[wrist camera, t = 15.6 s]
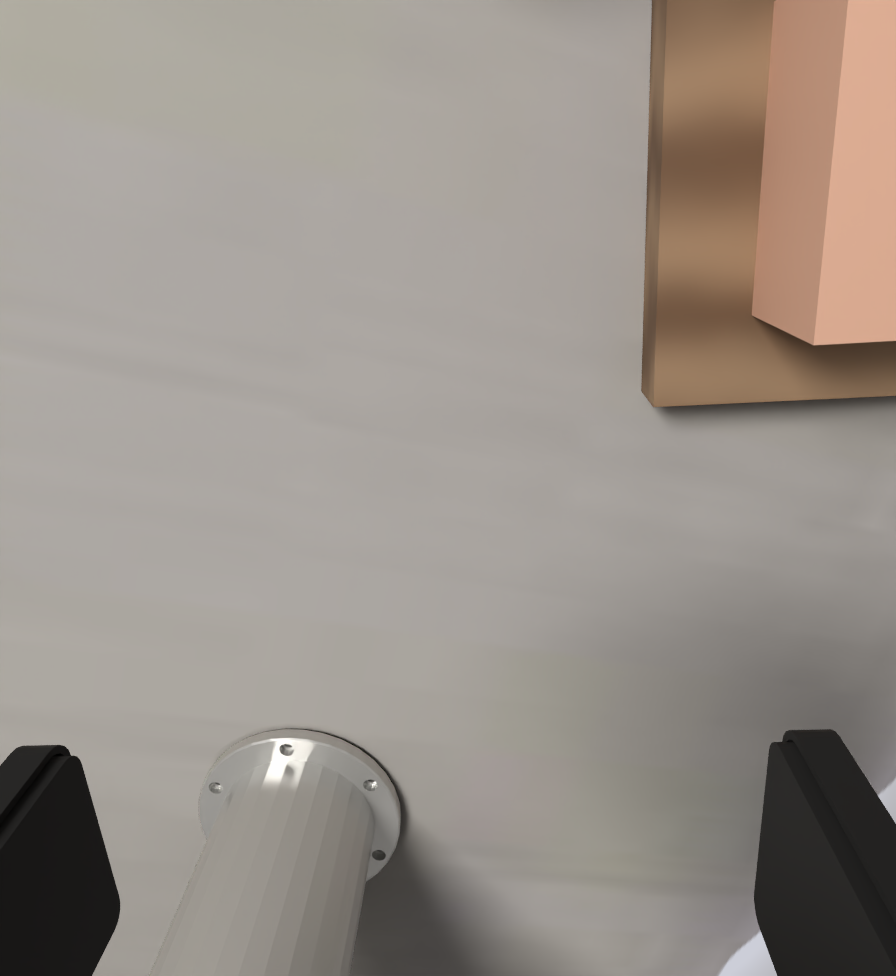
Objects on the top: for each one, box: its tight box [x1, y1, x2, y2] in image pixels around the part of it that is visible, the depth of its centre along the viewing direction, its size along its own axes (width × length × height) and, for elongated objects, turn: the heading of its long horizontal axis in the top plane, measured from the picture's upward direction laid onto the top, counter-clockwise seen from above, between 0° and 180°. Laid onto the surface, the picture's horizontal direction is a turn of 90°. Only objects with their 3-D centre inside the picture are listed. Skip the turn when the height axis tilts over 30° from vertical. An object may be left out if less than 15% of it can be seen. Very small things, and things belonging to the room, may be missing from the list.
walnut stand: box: [642, 0, 896, 407], centre depth 34 cm, size 20×13×3 cm, turn 3°
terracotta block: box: [752, 0, 896, 345], centre depth 29 cm, size 4×12×7 cm, turn 4°
